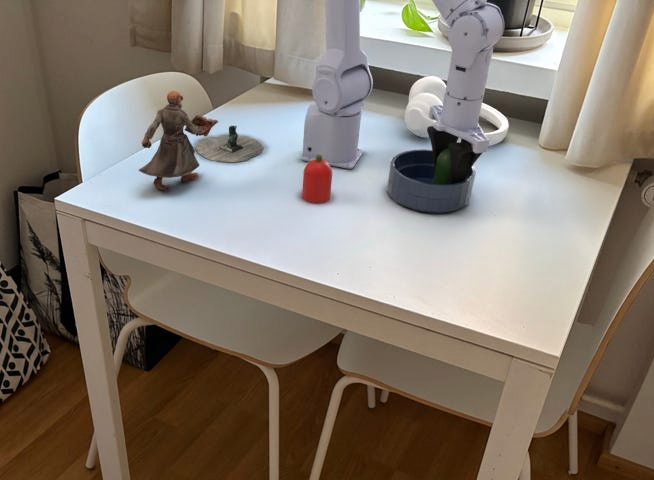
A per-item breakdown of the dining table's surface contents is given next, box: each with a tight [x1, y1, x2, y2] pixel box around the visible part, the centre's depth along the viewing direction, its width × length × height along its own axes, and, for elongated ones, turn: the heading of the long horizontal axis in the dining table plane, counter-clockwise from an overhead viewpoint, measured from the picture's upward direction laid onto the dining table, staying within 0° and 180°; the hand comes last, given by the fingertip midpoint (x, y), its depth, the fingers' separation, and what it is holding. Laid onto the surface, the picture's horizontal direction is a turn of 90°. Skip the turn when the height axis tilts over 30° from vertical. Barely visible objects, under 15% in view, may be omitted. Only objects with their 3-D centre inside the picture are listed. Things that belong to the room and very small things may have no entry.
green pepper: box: [433, 148, 451, 185], centre depth 119 cm, size 5×5×7 cm
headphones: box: [404, 75, 510, 147], centre depth 144 cm, size 20×8×20 cm
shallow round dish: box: [386, 148, 477, 214], centre depth 122 cm, size 14×14×5 cm
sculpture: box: [194, 125, 265, 163], centre depth 135 cm, size 12×9×8 cm
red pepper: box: [301, 155, 333, 204], centre depth 119 cm, size 5×5×7 cm
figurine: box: [138, 90, 219, 191], centre depth 118 cm, size 14×7×15 cm, turn 110°
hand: (448, 177), depth 121 cm, fingers closed on green pepper, 4 cm apart
